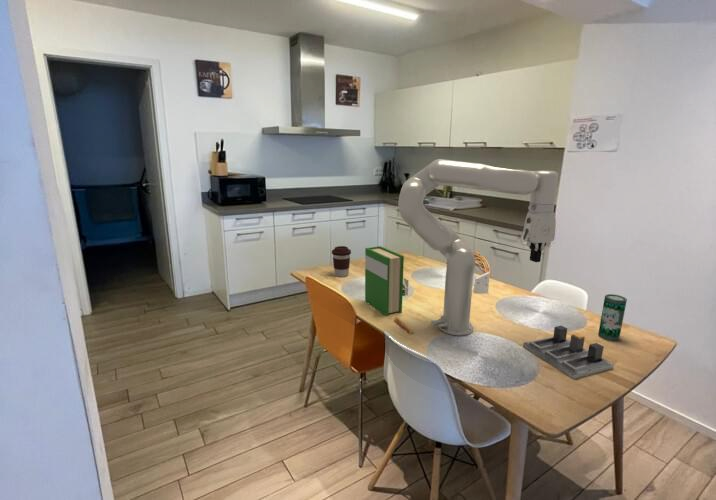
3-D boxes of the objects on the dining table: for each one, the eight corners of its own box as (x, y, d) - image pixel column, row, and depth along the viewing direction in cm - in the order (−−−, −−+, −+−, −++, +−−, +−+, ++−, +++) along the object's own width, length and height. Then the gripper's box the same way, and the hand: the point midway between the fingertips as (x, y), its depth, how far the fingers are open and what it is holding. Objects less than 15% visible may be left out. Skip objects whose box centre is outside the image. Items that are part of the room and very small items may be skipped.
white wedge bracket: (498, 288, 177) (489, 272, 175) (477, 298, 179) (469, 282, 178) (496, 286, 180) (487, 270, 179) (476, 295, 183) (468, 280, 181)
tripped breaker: (575, 352, 123) (578, 337, 121) (569, 349, 125) (571, 334, 124) (582, 351, 124) (585, 336, 122) (575, 347, 126) (578, 332, 125)
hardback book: (401, 312, 157) (403, 255, 151) (386, 316, 154) (387, 258, 148) (379, 298, 172) (380, 246, 166) (365, 301, 169) (365, 248, 163)
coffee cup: (330, 273, 207) (329, 246, 203) (348, 271, 209) (347, 244, 206) (334, 278, 197) (334, 250, 194) (353, 277, 200) (353, 249, 196)
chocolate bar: (408, 335, 138) (408, 330, 138) (392, 322, 149) (392, 317, 149) (414, 334, 139) (415, 328, 139) (398, 321, 150) (398, 316, 150)
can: (596, 336, 137) (603, 297, 133) (601, 331, 141) (608, 292, 137) (616, 342, 133) (624, 302, 129) (620, 337, 137) (628, 297, 133)
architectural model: (402, 297, 174) (402, 281, 173) (393, 292, 180) (393, 277, 178) (408, 295, 176) (408, 280, 174) (399, 291, 182) (400, 276, 180)
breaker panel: (574, 379, 112) (577, 358, 110) (522, 347, 130) (525, 328, 128) (613, 368, 117) (616, 348, 115) (558, 339, 135) (561, 321, 134)
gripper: (532, 211, 123) (526, 266, 127) (567, 208, 128) (560, 261, 132) (515, 207, 129) (509, 260, 134) (549, 205, 135) (542, 256, 139)
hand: (534, 261), depth 133 cm, fingers closed
